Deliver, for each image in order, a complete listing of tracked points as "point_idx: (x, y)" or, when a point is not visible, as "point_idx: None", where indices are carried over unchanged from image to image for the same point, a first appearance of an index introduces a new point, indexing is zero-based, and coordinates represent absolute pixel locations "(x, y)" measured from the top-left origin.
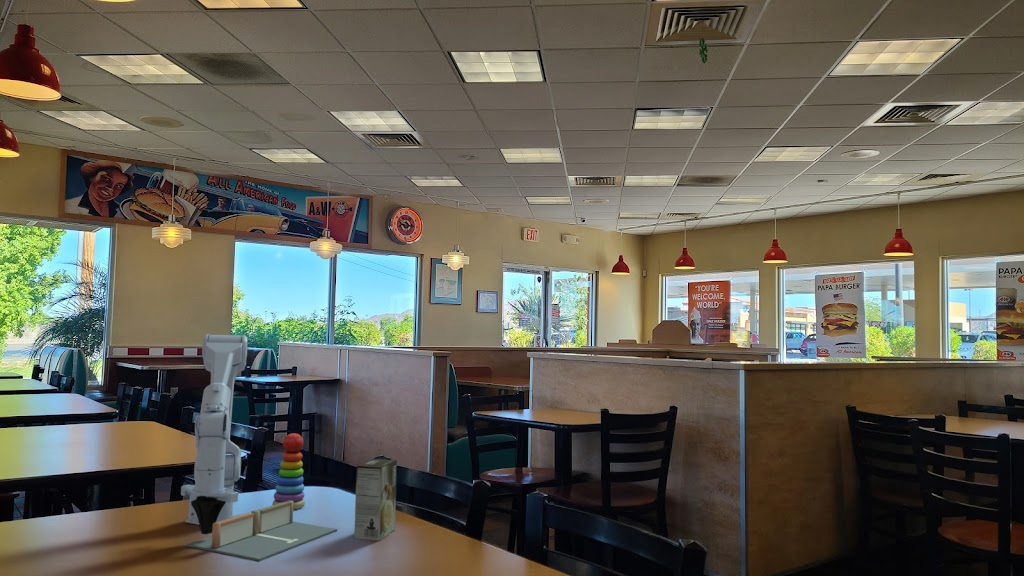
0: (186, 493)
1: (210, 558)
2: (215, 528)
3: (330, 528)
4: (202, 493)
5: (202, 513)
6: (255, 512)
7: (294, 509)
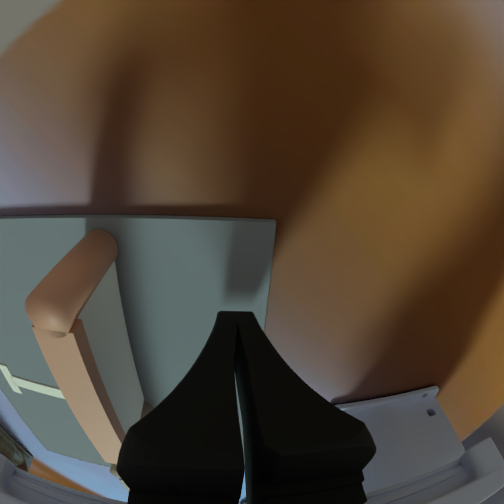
0: (464, 465)
1: (32, 142)
2: (43, 280)
3: (57, 452)
4: None
5: (227, 389)
6: (113, 468)
7: (244, 502)
